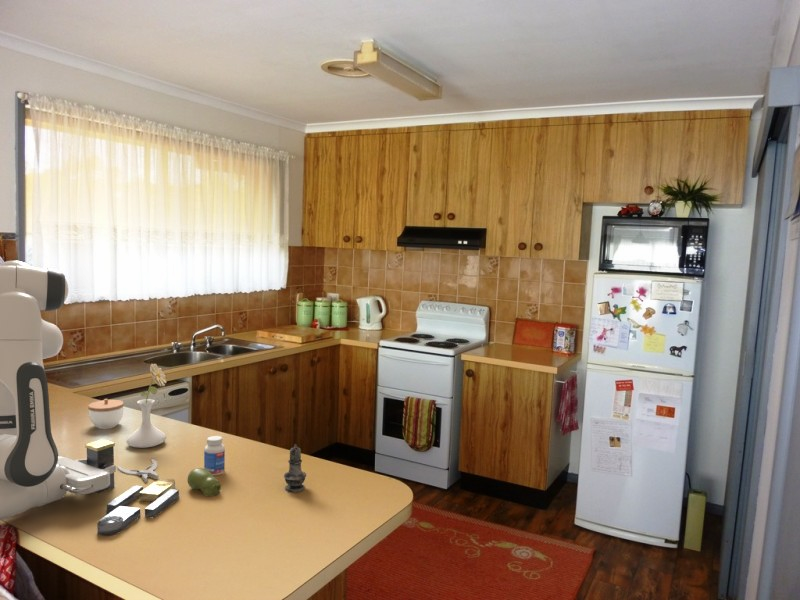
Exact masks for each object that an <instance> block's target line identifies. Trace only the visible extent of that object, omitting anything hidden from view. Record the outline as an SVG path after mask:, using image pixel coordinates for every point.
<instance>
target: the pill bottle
mask: <svg viewBox="0 0 800 600" xmlns="http://www.w3.org/2000/svg"><path fill="white" fill-rule="evenodd" d="M206 444H207V445H206V446H204V448H203V449H204V451H203V453H204V454H203V458H204V459H203V460H204V461H203V469H206V470H208V471H209V472H210V473H211V474H212V475H213V477H214V476H219V475H221V474H224V472H225V465H226V462H225V461H226V457H225V456H226V455H225V451H226V450H225V449H226V448H225V445H224V444H223V437H222V436H220V435H212V436H209V437H207V439H206Z"/></svg>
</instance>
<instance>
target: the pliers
mask: <svg viewBox="0 0 800 600" xmlns="http://www.w3.org/2000/svg"><path fill="white" fill-rule="evenodd" d="M150 461H152V462H151V465H148V466H146V467H145V468H144V470H143V469H126V468H124V467H122V466H121V465H117V469H119V470H120V471H119V470H118V471H119V472H120V473H123V472H124V473H123V474H125V473H126V474H125V475H129V474H132V475H131V476H137V475H139V477H140V475H141V479H142V478H143V479H142V480H143V481H145V482H144V483H148V482H147V481H149V480H148V478H151V477H152V478H151V479H153V478H154V480H155V479H158V480H159V473H158V472H156V470H157V468H158V461H156V459H154V458H151V459H150ZM152 463H153V464H152ZM151 466H152V467H151ZM148 467H150V468H148ZM147 468H148V469H147ZM146 469H147V470H146ZM153 470H154V471H153ZM137 471H139V472H137ZM133 474H134V475H133ZM149 476H150V477H149ZM147 477H148V478H147Z"/></svg>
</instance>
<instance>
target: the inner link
mask: <svg viewBox="0 0 800 600" xmlns="http://www.w3.org/2000/svg"><path fill="white" fill-rule="evenodd" d="M170 489H175V490H176V480H175V479H174V478H171V477H164V478H160V479H158V480H155V481H153V482H152V483H151V484H150V485H148V486H147V487H145V488H143V490H142V491H141V492H139V497H138V498H139V501H143V502H150V501H153V502H154V501H156V500H157V499H158V498H160V497H161V496H162V495H164V494H165V493H166V492H168V491H169V490H170ZM153 502H152V503H153Z"/></svg>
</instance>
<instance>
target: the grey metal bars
mask: <svg viewBox="0 0 800 600" xmlns="http://www.w3.org/2000/svg"><path fill="white" fill-rule="evenodd" d="M142 490H144V485H134V486H132V487H130V488H129V489H127V490H126V491H125V492H122V494H120V495H118V496H117V497H115V498H114V499H112V500H111V501H110V502H108V503H107V504H106V515H105V516H104V517H102V518H100V519H99V520H98V521H97V523H96V524H97V526H96V527H97V534H98V535H99V536H103V537H105V536H114V535H117V534H119V533H121V532H122V531H124V530H125V529H126V528H127V527H129V526H130V525H131V524H133V523H134V522H135V521H137V520H138V519H139V518H141V508H140V507H132V506H128V505H130V504H131V503H132V502H134V501H136V500H137V499H138V498H139V492H141V491H142ZM179 498H180V489H176V488H175V489H170V490H169V491H168V492H166V493H165V494H164V495H162V496H161V497H160V498H158V499H157V500H156V501H154V502H151V503H150V504H149V505H148V506H147V507H144V517H145V518H149V517H153V519H155V516H156V515H157V516H158V515H160V512H161V511H162V512H163V511H164V510H166V509H167V508H168V507H169V506H171V505H172V504H173V503H174V502H175V501H176V500H178V499H179ZM162 512H161V513H162ZM157 516H156V517H157ZM137 518H138V519H137Z"/></svg>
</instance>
